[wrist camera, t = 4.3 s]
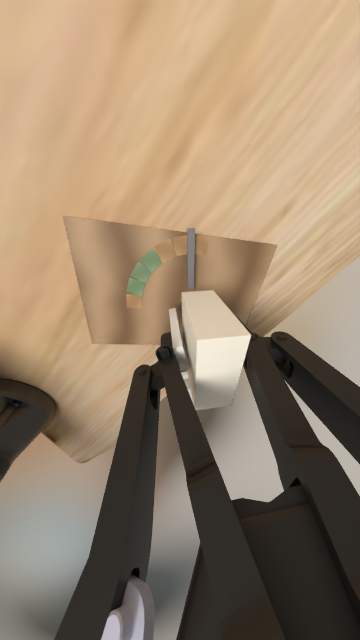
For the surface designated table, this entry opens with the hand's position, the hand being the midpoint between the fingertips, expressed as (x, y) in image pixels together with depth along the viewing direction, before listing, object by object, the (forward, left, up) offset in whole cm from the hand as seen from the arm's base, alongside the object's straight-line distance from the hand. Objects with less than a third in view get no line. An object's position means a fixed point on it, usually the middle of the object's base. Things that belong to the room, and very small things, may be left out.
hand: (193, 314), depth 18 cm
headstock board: (-2, +1, -5) cm, 5 cm away
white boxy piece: (0, +2, -2) cm, 3 cm away
